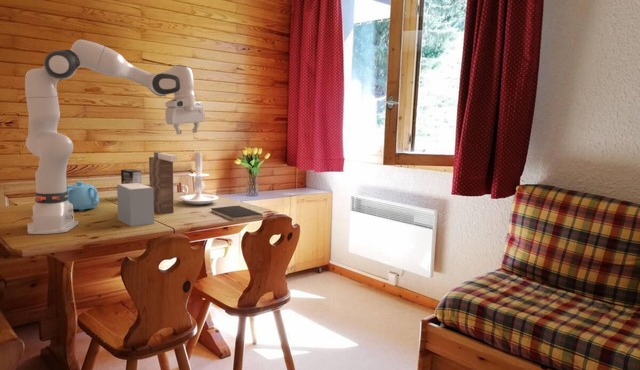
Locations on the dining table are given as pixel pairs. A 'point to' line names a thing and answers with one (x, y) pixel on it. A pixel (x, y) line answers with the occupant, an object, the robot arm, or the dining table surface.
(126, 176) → the coffee box
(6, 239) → the dining table surface
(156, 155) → the marker
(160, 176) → the walnut stand
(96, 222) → the dining table surface
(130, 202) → the paper box
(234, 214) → the hardcover book
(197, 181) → the candlestick
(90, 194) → the decorative pot
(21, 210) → the dining table surface
